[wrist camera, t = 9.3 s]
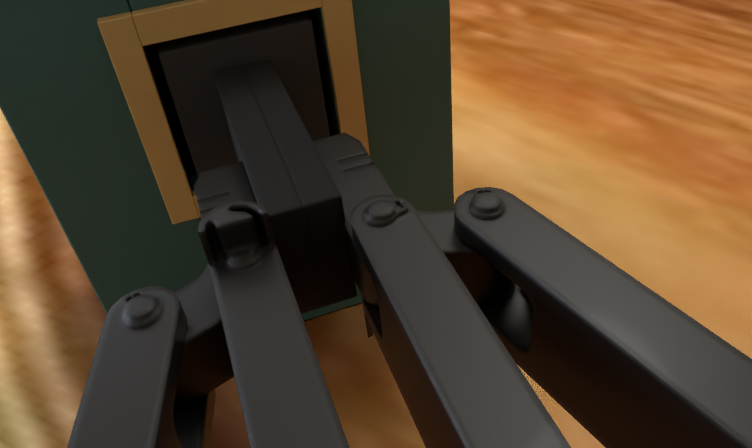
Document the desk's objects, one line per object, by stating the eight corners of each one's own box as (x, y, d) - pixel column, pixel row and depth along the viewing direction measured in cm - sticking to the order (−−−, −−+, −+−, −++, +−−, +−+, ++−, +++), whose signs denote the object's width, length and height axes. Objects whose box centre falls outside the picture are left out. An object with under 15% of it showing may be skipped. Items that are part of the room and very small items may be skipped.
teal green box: (459, 278, 25) (452, -134, 16) (137, 380, 23) (-80, -36, 14) (392, 176, 30) (360, -174, 21) (128, 250, 28) (-32, -109, 19)
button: (332, 148, 20) (311, 19, 17) (199, 183, 19) (157, 53, 16) (293, 78, 24) (272, -36, 21) (181, 105, 23) (145, -10, 20)
